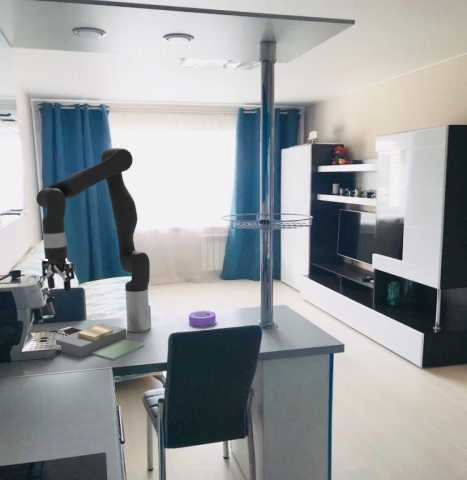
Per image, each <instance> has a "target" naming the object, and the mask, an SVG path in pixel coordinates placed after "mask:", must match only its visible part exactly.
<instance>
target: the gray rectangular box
mask: <svg viewBox="0 0 467 480" xmlns="http://www.w3.org/2000/svg"><path fill="white" fill-rule="evenodd" d="M95 326H98V327H102V328H107V329H111V330H113V334H111V335H108V336H106V337H103V338H101V339H98V340H95V341H93V340H89V339H86V338H82V337H78V333H79V332H82V331H84V330H87V329H90V328H93V327H95ZM81 330H82V331H79V332H76V333H73V334H71V335H68V336H66V335H64V336H63V337H60V338H57V339H55V345H56V344H57V345H60V346H61V351H60V352H63V353H66V354H69V355H72V356H75V357H80V358H84V357H86V356H89V355H92V352H94V351H96V350H99V349H101V348H103V347H106V346H108V345H111V344H113V343H115V342H118V341H120V340H123V339H126V340H127V329H126V328H123V327H120V326H119V327H118V326H115V325H111V324H105V323H101V322H100V323H98V324H95V325H93V326H91V327H87V328H85V329H81Z"/></svg>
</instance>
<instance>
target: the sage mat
mask: <svg viewBox="0 0 467 480" xmlns="http://www.w3.org/2000/svg"><path fill="white" fill-rule="evenodd" d="M145 345H146V344H145V343H141V342H139V341H133V340H129V339H127V338H126V339H123V340H120V341H118V342H115V343H113V344H111V345H108V346H106V347H103V348H101V349H99V350H96V351H94V352H92V353H91V355H94V356H98V357H101V358H104V359H109V360H111V361H112V360H113V361H115V360H116V359H119V358H120V357H121V358H122V357H123V356H125V355H127V354H129V353H132V352H133V351H136V350H138V349H140V348H143V347H145Z"/></svg>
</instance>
